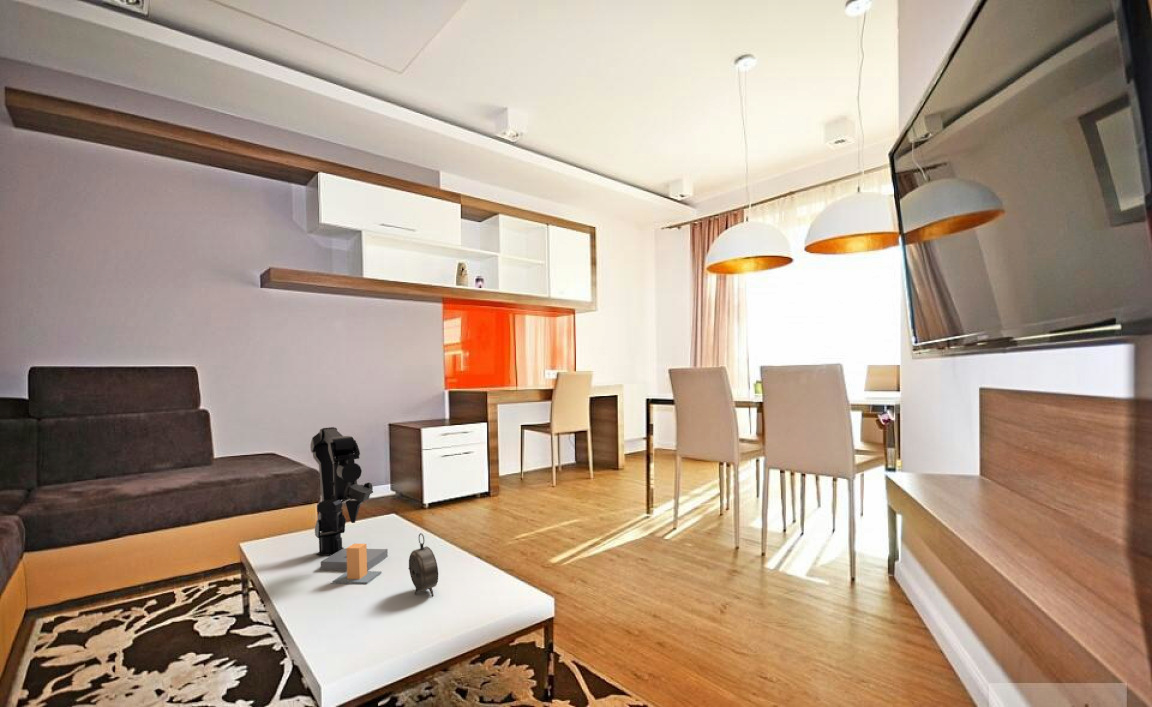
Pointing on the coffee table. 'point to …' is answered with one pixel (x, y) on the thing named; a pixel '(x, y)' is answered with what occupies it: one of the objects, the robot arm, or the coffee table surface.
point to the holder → (340, 559)
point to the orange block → (356, 561)
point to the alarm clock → (423, 568)
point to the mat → (363, 580)
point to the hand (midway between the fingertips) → (344, 527)
